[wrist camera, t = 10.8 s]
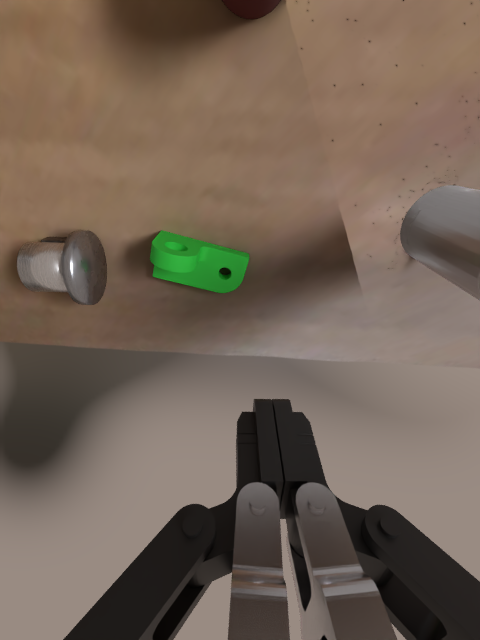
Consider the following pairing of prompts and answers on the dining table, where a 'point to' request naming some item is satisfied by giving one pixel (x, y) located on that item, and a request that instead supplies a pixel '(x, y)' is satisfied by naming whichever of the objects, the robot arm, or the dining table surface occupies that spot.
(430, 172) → the dining table surface
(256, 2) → the mug
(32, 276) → the grey mushroom knob
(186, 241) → the mechanical part
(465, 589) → the robot arm
